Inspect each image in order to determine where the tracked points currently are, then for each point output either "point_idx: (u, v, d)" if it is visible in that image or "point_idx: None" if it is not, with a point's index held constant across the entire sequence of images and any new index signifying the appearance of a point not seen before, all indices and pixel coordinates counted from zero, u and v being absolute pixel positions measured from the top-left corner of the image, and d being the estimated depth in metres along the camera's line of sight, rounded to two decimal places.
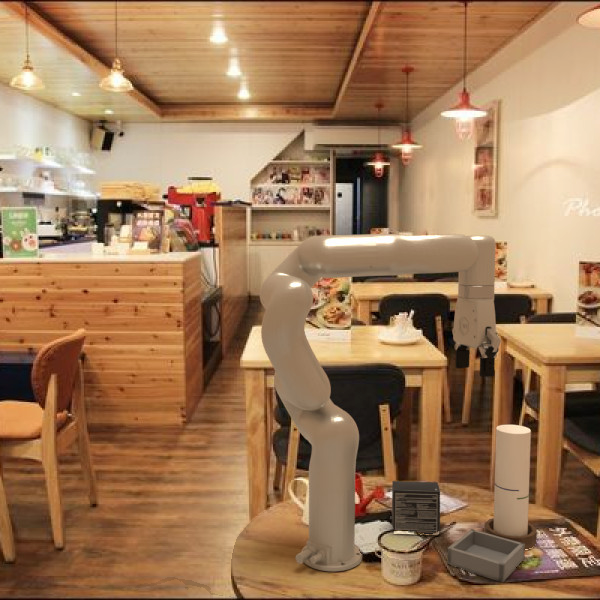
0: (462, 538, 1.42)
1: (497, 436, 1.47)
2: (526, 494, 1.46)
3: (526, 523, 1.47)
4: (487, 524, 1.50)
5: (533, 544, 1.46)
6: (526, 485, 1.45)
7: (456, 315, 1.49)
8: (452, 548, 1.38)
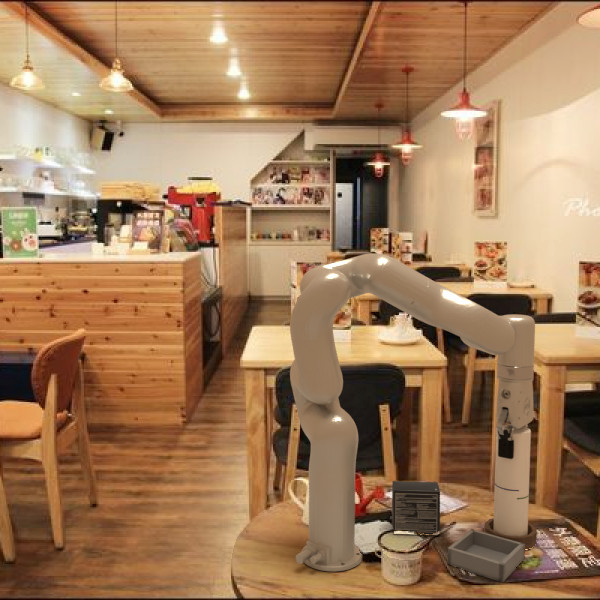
0: (462, 538, 1.42)
1: (497, 436, 1.47)
2: (526, 494, 1.46)
3: (526, 523, 1.47)
4: (487, 524, 1.50)
5: (533, 544, 1.46)
6: (526, 485, 1.45)
7: (520, 400, 1.42)
8: (452, 548, 1.38)
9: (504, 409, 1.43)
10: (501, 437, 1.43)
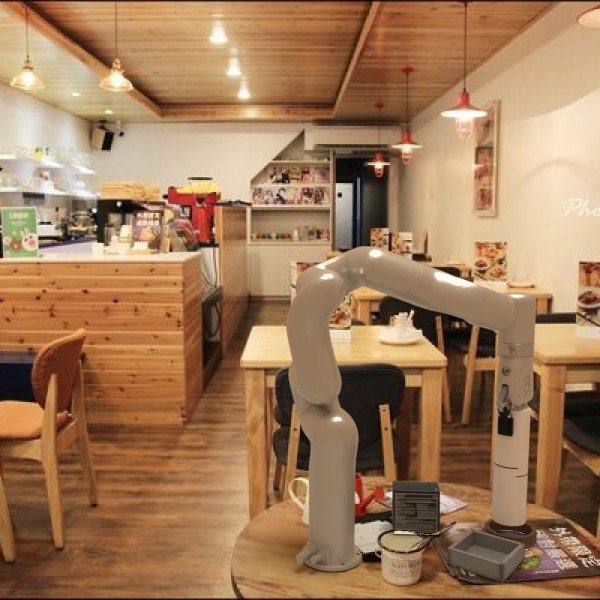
0: (462, 538, 1.42)
1: None
2: (525, 472, 1.45)
3: (525, 502, 1.46)
4: (487, 524, 1.50)
5: (533, 544, 1.46)
6: (525, 463, 1.45)
7: (520, 377, 1.42)
8: (452, 548, 1.38)
9: (504, 386, 1.42)
10: (501, 414, 1.42)
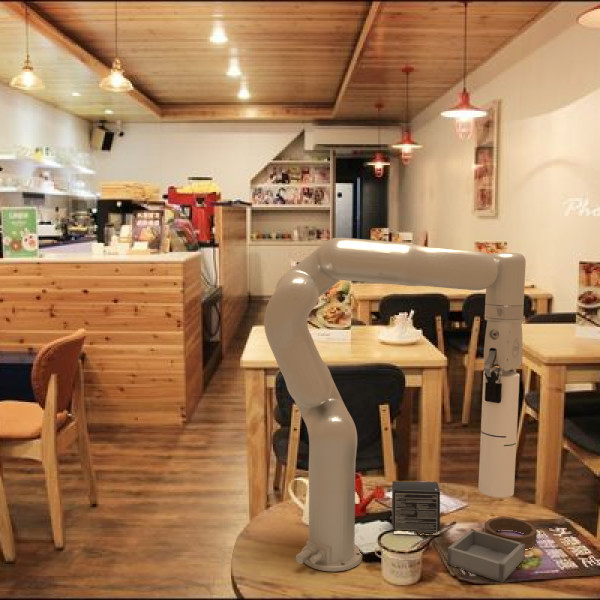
0: (462, 538, 1.42)
1: (484, 380, 1.40)
2: (514, 441, 1.39)
3: (513, 472, 1.40)
4: (487, 524, 1.50)
5: (533, 544, 1.46)
6: (514, 431, 1.38)
7: (509, 341, 1.35)
8: (452, 548, 1.38)
9: (492, 350, 1.36)
10: (488, 380, 1.36)
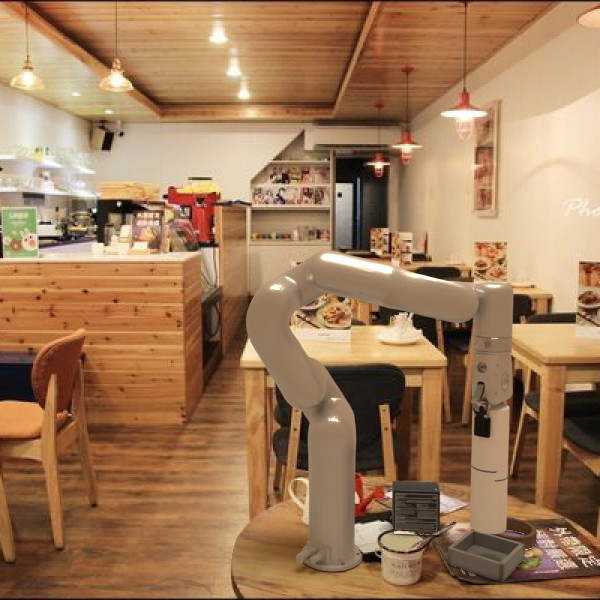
0: (462, 538, 1.42)
1: None
2: (504, 476, 1.35)
3: (505, 507, 1.36)
4: None
5: (533, 544, 1.46)
6: (505, 466, 1.34)
7: (497, 374, 1.31)
8: (452, 548, 1.38)
9: (480, 384, 1.32)
10: (477, 414, 1.32)
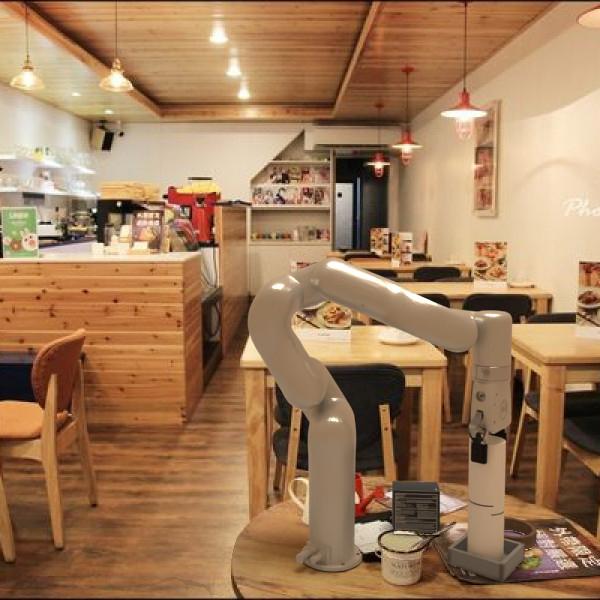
0: (462, 538, 1.42)
1: (470, 448, 1.37)
2: (501, 510, 1.35)
3: (502, 541, 1.36)
4: None
5: (533, 544, 1.46)
6: (501, 500, 1.35)
7: (496, 403, 1.32)
8: (452, 548, 1.38)
9: (479, 411, 1.32)
10: (474, 440, 1.32)
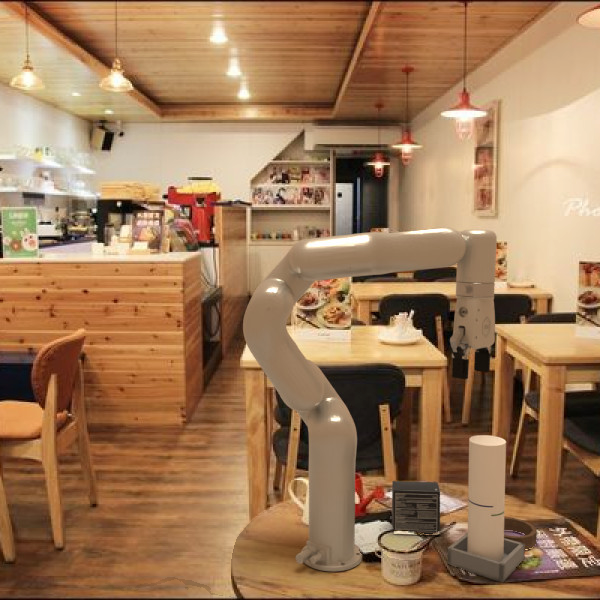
0: (462, 538, 1.42)
1: (470, 448, 1.36)
2: (501, 510, 1.35)
3: (502, 541, 1.36)
4: None
5: (533, 544, 1.46)
6: (501, 500, 1.35)
7: (478, 318, 1.33)
8: (452, 548, 1.38)
9: (461, 327, 1.34)
10: (455, 355, 1.33)
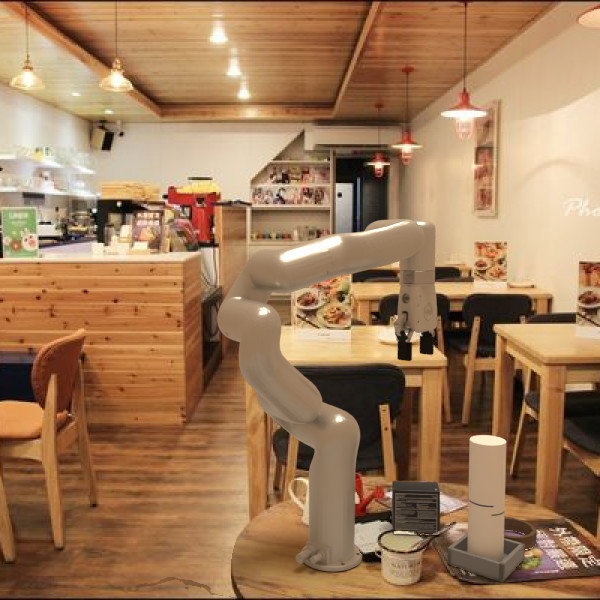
0: (462, 538, 1.42)
1: (470, 448, 1.37)
2: (501, 510, 1.35)
3: (502, 541, 1.36)
4: None
5: (533, 544, 1.46)
6: (502, 500, 1.35)
7: (420, 304, 1.43)
8: (452, 548, 1.38)
9: (404, 312, 1.43)
10: (399, 339, 1.43)
